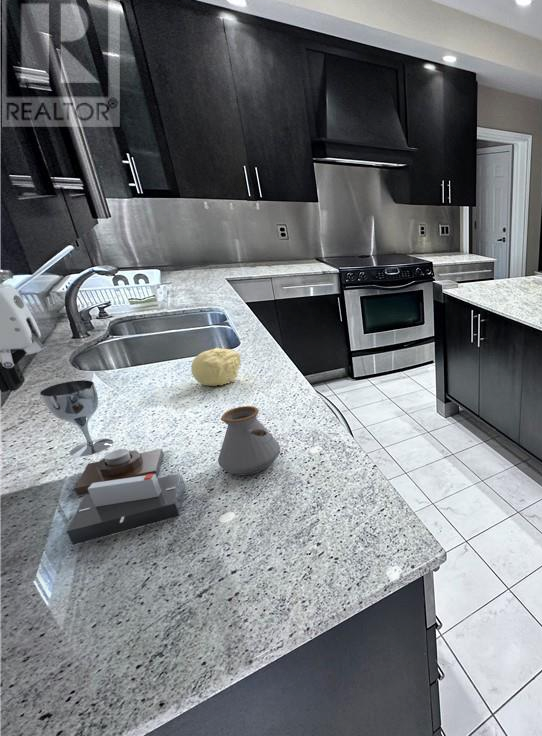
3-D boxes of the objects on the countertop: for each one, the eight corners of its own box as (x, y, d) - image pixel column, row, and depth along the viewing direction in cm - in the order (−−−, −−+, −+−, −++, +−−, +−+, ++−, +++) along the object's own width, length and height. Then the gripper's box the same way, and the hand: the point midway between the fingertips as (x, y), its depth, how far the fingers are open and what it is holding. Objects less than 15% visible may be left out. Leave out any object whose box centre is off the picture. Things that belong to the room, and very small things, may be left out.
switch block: (77, 495, 77) (70, 480, 76) (90, 470, 84) (84, 456, 83) (157, 477, 83) (152, 463, 82) (164, 454, 90) (159, 441, 89)
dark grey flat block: (69, 552, 66) (62, 537, 64) (92, 502, 76) (87, 489, 75) (178, 521, 73) (173, 508, 72) (186, 480, 83) (182, 467, 82)
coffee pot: (214, 463, 88) (197, 402, 83) (271, 443, 96) (259, 387, 91) (246, 513, 75) (228, 445, 70) (309, 485, 83) (298, 422, 78)
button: (105, 468, 80) (102, 461, 80) (109, 459, 83) (106, 451, 83) (129, 463, 82) (126, 456, 82) (132, 454, 85) (130, 447, 84)
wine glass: (57, 453, 89) (30, 392, 83) (100, 435, 96) (78, 378, 90) (82, 460, 87) (55, 399, 81) (124, 442, 94) (102, 383, 88)
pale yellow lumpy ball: (226, 390, 120) (218, 357, 116) (186, 388, 120) (176, 354, 116) (250, 375, 131) (243, 344, 127) (213, 373, 131) (205, 342, 127)
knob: (95, 507, 71) (86, 487, 69) (100, 501, 72) (91, 481, 71) (158, 496, 74) (151, 478, 72) (161, 491, 75) (155, 472, 74)
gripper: (42, 272, 68) (80, 373, 75) (-102, 277, 60) (-44, 387, 67) (23, 281, 62) (67, 388, 69) (-138, 286, 54) (-71, 406, 61)
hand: (12, 388), depth 68 cm, fingers closed
